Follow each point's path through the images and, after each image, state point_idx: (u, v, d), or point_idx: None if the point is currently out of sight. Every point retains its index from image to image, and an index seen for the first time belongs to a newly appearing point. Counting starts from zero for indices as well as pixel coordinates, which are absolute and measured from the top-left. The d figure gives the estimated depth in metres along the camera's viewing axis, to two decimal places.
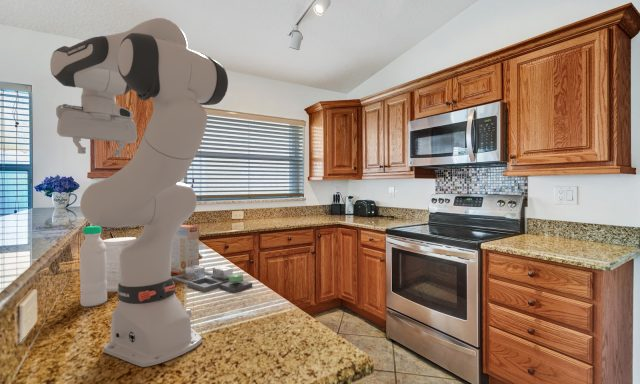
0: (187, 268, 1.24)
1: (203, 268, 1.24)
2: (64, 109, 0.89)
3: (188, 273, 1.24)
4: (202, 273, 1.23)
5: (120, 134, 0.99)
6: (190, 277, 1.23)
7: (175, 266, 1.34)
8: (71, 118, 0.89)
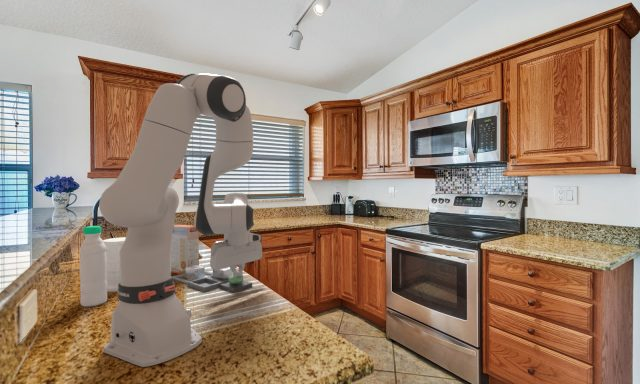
0: (187, 268, 1.24)
1: (203, 268, 1.24)
2: (216, 246, 1.05)
3: (188, 273, 1.24)
4: (202, 273, 1.23)
5: (251, 256, 1.14)
6: (190, 277, 1.23)
7: (175, 266, 1.34)
8: (222, 254, 1.05)
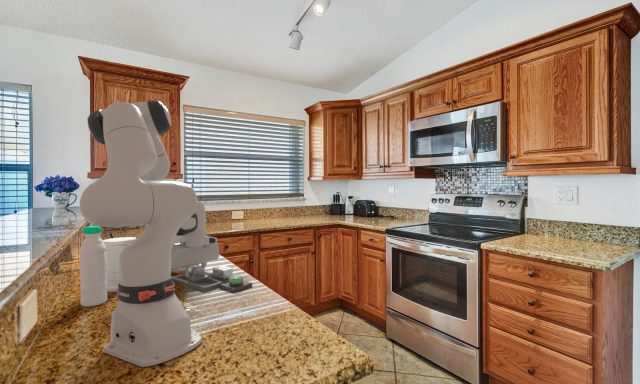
0: None
1: (203, 268, 1.24)
2: (173, 248, 1.17)
3: None
4: (202, 273, 1.23)
5: (208, 256, 1.27)
6: (190, 277, 1.23)
7: None
8: (178, 255, 1.17)
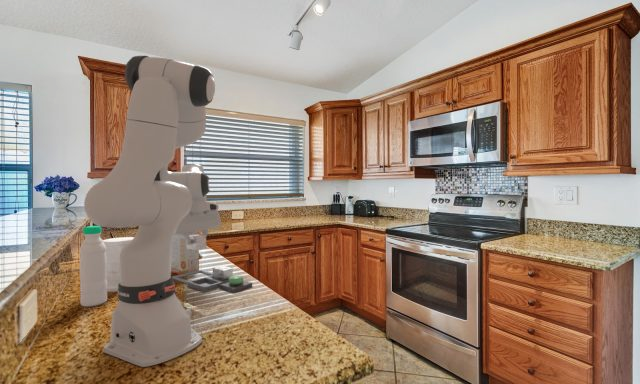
0: None
1: (204, 236, 1.18)
2: None
3: None
4: (203, 241, 1.18)
5: (209, 224, 1.22)
6: (191, 246, 1.18)
7: (175, 266, 1.34)
8: None
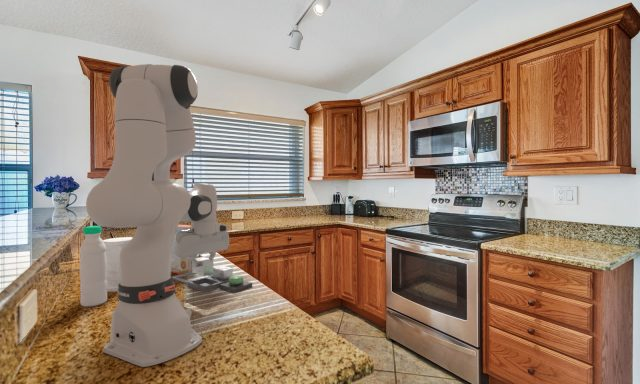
0: None
1: (212, 261, 1.13)
2: (181, 235, 1.06)
3: None
4: (210, 267, 1.13)
5: (218, 245, 1.17)
6: (197, 271, 1.13)
7: (175, 266, 1.34)
8: (187, 242, 1.07)
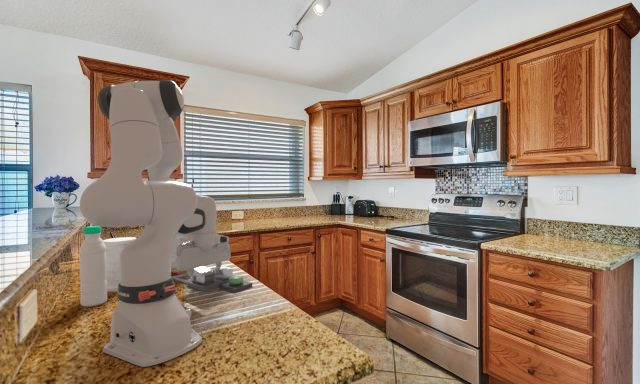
0: (196, 271, 1.13)
1: (213, 274, 1.13)
2: (182, 248, 1.06)
3: (196, 276, 1.13)
4: (211, 279, 1.13)
5: (219, 257, 1.16)
6: (198, 281, 1.12)
7: (175, 266, 1.34)
8: (187, 255, 1.07)
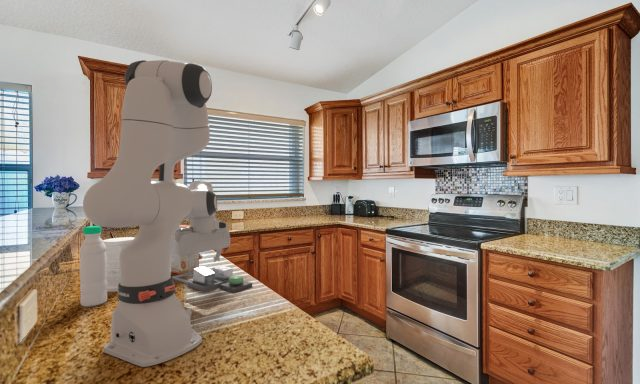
0: (196, 271, 1.13)
1: (213, 274, 1.13)
2: (180, 233, 1.06)
3: (196, 276, 1.13)
4: (211, 279, 1.13)
5: (219, 243, 1.16)
6: (198, 281, 1.12)
7: (175, 266, 1.34)
8: (186, 240, 1.06)
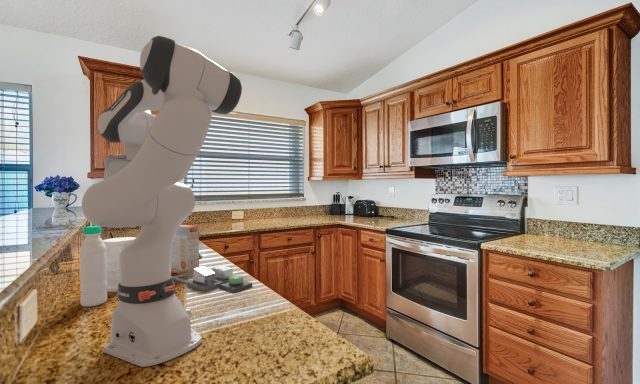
0: (196, 271, 1.13)
1: (213, 274, 1.13)
2: (110, 159, 0.99)
3: (196, 276, 1.13)
4: (211, 279, 1.13)
5: None
6: (198, 281, 1.12)
7: (175, 266, 1.34)
8: (116, 168, 0.99)
